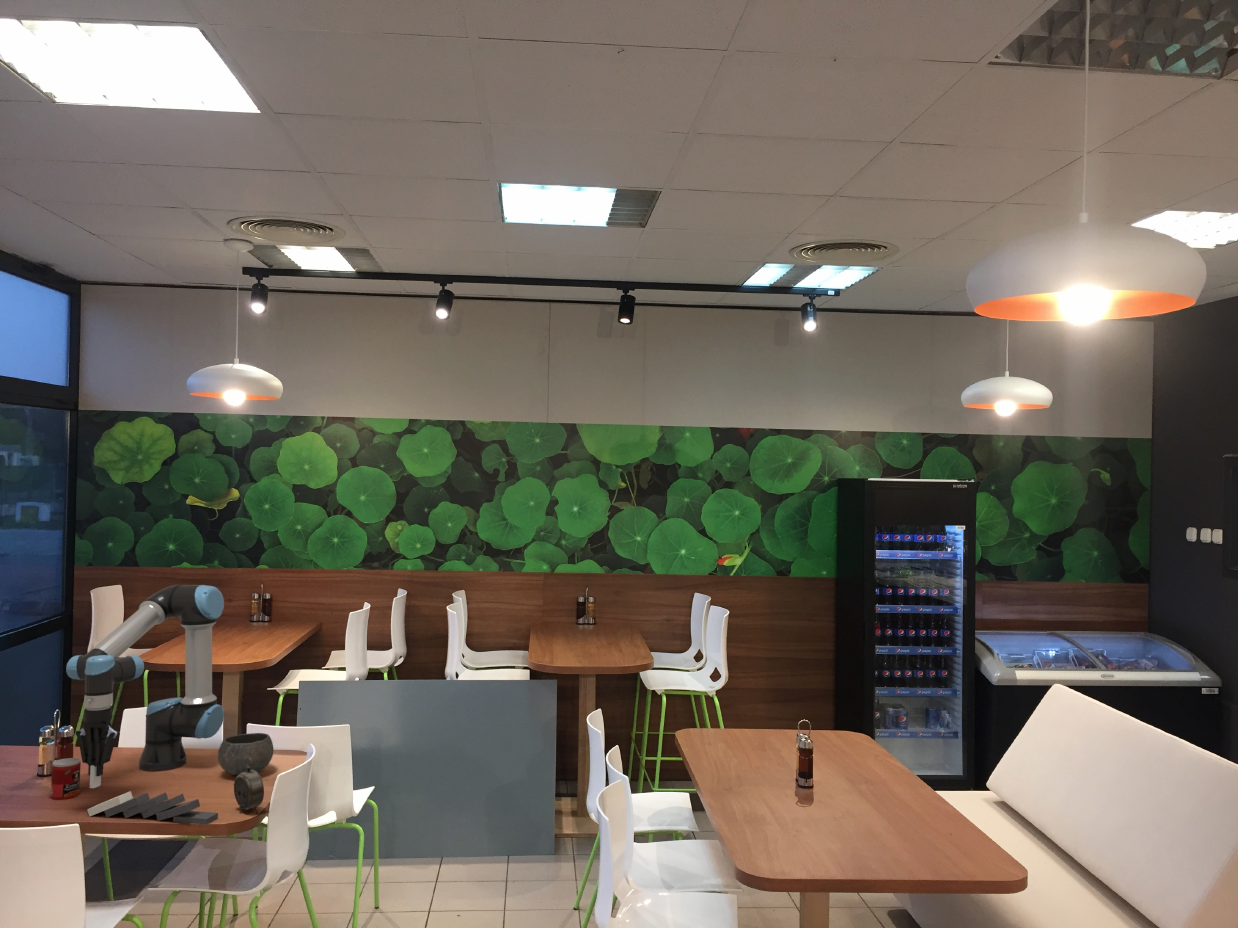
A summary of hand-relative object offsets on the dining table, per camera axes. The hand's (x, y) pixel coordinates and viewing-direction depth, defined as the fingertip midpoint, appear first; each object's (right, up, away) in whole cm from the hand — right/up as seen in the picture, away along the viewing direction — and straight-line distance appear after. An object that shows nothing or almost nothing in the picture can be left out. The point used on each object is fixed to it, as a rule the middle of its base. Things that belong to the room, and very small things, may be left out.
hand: (95, 786), depth 263 cm
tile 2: (+6, -7, -1) cm, 9 cm away
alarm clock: (+45, -9, +2) cm, 46 cm away
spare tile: (0, -7, -1) cm, 7 cm away
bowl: (+29, -10, +39) cm, 50 cm away
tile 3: (+12, -7, -2) cm, 14 cm away
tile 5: (+23, -7, -4) cm, 24 cm away
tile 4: (+18, -7, -2) cm, 19 cm away
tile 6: (+28, -7, -4) cm, 29 cm away
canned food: (-18, -9, +15) cm, 25 cm away
